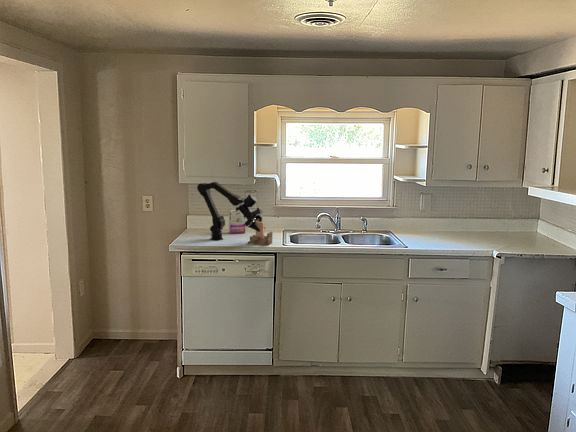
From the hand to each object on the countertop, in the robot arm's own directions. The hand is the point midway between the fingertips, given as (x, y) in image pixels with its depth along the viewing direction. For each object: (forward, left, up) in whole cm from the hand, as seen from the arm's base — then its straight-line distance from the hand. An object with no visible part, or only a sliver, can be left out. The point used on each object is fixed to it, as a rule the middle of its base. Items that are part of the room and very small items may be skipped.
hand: (262, 230), depth 307 cm
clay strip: (-1, -1, -8) cm, 8 cm away
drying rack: (-1, 0, -9) cm, 9 cm away
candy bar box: (-35, +17, -9) cm, 40 cm away
